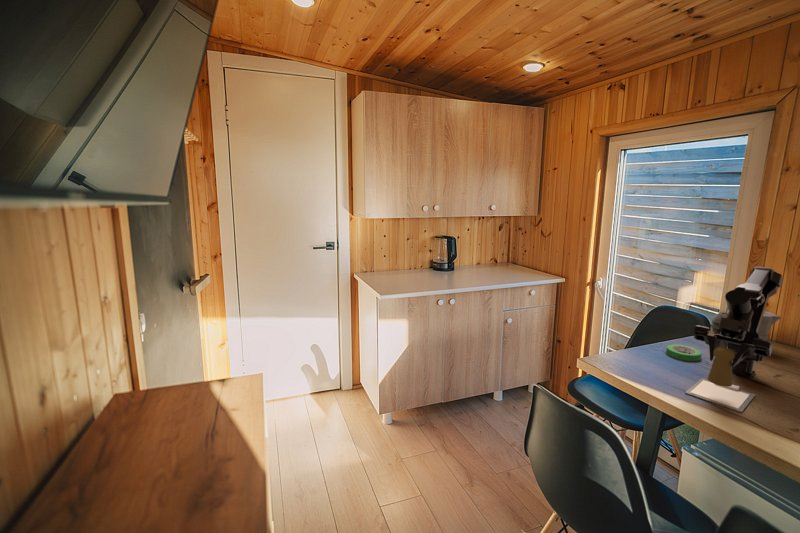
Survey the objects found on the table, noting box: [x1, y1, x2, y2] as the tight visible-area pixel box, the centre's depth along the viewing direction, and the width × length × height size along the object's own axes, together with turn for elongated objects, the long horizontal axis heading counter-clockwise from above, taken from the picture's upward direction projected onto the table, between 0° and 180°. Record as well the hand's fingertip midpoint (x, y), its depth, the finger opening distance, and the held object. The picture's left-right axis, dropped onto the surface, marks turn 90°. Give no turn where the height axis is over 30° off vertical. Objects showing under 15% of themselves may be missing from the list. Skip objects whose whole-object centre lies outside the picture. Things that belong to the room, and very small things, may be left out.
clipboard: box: [684, 377, 756, 414], centre depth 123 cm, size 16×14×1 cm
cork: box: [706, 347, 735, 386], centre depth 119 cm, size 6×6×11 cm
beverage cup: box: [711, 307, 729, 348], centre depth 155 cm, size 7×7×20 cm
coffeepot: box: [757, 311, 783, 341], centre depth 158 cm, size 15×9×18 cm, turn 45°
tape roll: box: [665, 344, 702, 362], centre depth 152 cm, size 11×11×3 cm
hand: (721, 363), depth 118 cm, fingers closed on cork, 5 cm apart
